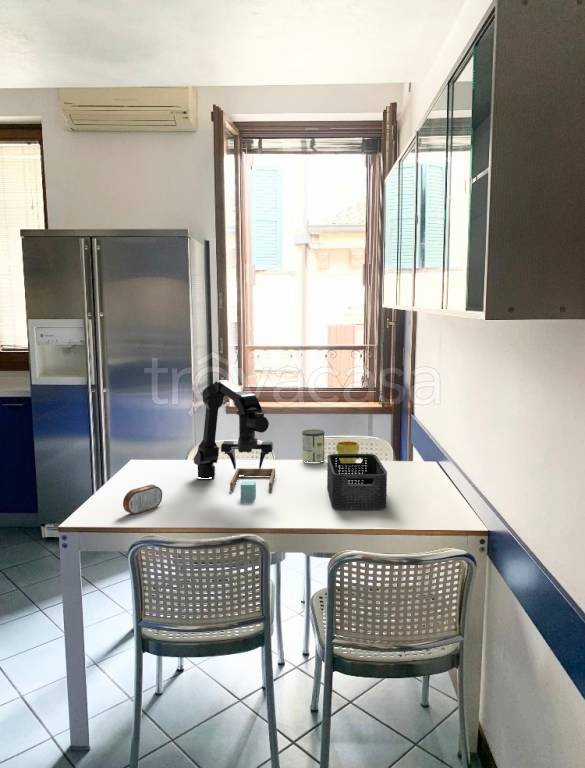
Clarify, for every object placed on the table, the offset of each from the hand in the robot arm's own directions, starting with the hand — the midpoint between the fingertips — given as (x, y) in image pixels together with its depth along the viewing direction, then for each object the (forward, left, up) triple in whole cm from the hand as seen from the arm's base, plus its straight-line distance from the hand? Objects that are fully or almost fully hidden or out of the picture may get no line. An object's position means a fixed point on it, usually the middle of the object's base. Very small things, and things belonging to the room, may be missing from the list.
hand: (247, 469), depth 210 cm
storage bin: (+40, +1, -11) cm, 42 cm away
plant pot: (+40, +49, -11) cm, 64 cm away
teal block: (0, -1, -11) cm, 11 cm away
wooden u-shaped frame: (0, +18, -11) cm, 21 cm away
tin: (-35, -15, -11) cm, 39 cm away
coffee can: (+24, +54, -11) cm, 60 cm away
